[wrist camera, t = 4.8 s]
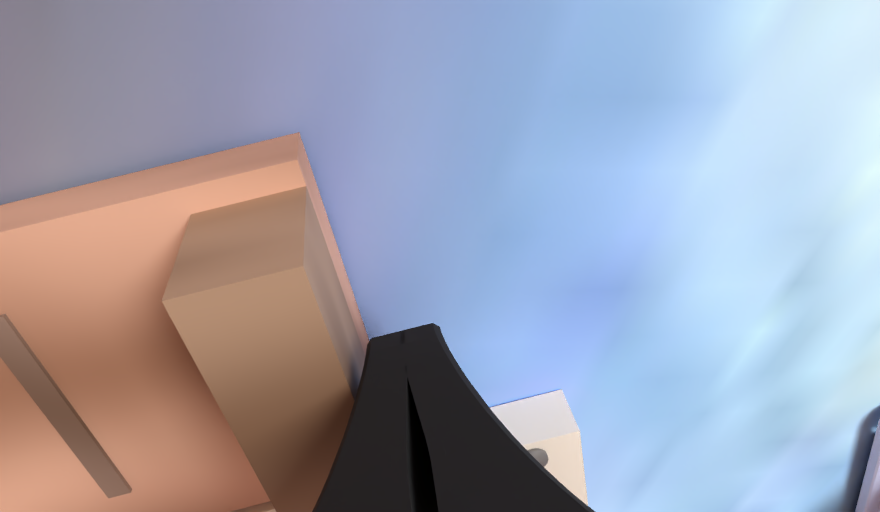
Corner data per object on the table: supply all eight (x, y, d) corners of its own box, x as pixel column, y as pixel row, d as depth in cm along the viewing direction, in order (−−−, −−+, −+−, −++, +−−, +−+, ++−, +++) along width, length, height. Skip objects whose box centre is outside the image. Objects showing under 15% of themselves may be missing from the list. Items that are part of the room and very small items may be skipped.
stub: (398, 428, 16) (417, 566, 13) (40, 519, 16) (-25, 680, 13) (299, 132, 12) (291, 235, 9) (-195, 252, 12) (-378, 401, 9)
